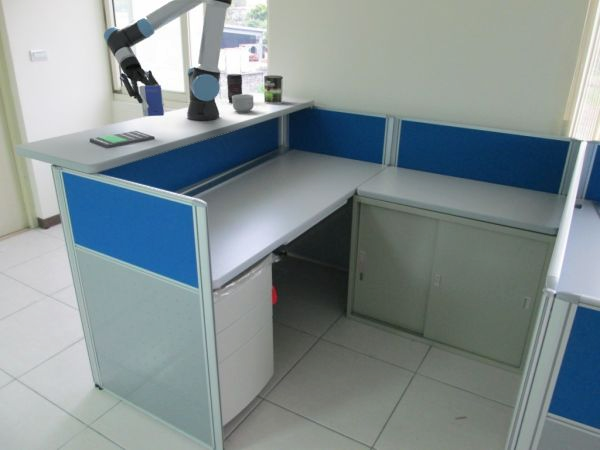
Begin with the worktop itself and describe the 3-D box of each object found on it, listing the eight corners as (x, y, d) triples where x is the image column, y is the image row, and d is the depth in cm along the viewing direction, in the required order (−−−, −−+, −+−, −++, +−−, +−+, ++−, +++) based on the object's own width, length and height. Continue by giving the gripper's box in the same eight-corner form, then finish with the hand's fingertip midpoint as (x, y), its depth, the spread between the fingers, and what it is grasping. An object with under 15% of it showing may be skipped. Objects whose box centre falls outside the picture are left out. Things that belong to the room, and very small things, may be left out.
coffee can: (275, 104, 276) (275, 78, 270) (260, 102, 281) (260, 76, 275) (286, 102, 284) (286, 76, 279) (271, 100, 289) (271, 74, 283)
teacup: (252, 113, 252) (252, 97, 249) (230, 113, 252) (230, 97, 249) (255, 108, 264) (255, 93, 261) (234, 108, 265) (234, 92, 261)
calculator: (136, 133, 210) (136, 130, 209) (154, 139, 201) (154, 136, 200) (89, 141, 196) (89, 137, 196) (107, 147, 187) (106, 144, 187)
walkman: (164, 114, 207) (160, 84, 202) (163, 115, 204) (159, 85, 199) (144, 114, 206) (140, 84, 201) (143, 116, 204) (139, 85, 199)
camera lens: (244, 101, 283) (244, 74, 277) (239, 104, 276) (238, 75, 270) (231, 100, 285) (230, 73, 279) (225, 103, 278) (224, 74, 272)
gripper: (146, 66, 214) (172, 109, 211) (103, 70, 202) (130, 116, 198) (151, 53, 209) (178, 98, 205) (108, 57, 196) (135, 104, 193)
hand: (154, 107), depth 202 cm, fingers closed on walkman, 6 cm apart
